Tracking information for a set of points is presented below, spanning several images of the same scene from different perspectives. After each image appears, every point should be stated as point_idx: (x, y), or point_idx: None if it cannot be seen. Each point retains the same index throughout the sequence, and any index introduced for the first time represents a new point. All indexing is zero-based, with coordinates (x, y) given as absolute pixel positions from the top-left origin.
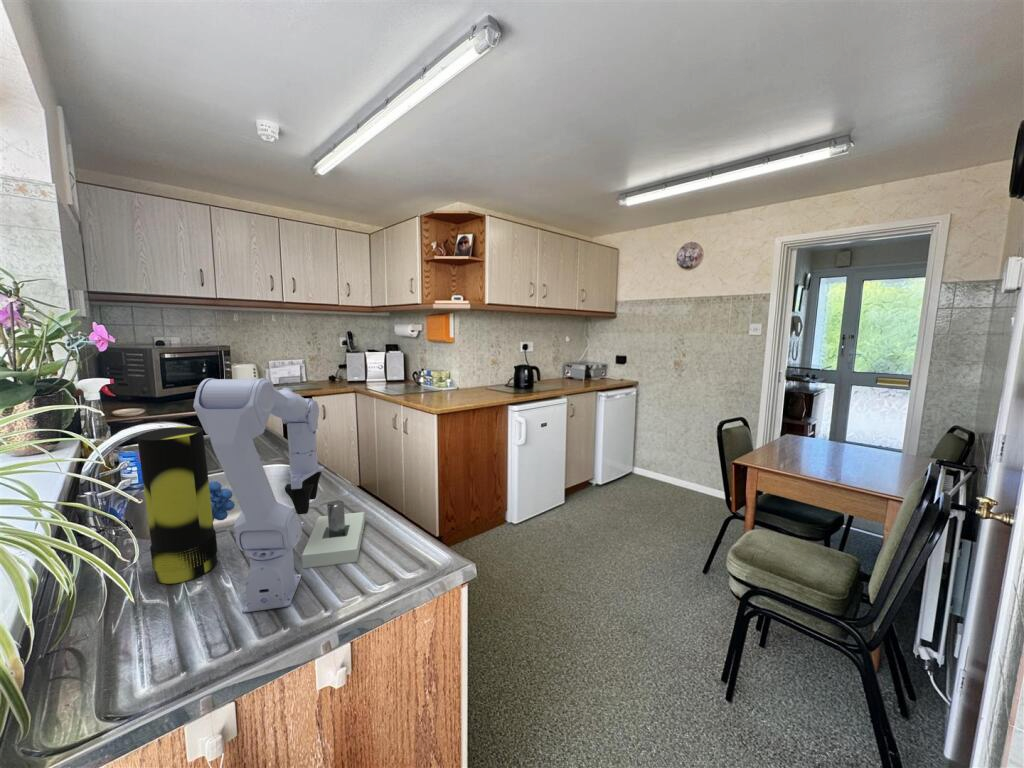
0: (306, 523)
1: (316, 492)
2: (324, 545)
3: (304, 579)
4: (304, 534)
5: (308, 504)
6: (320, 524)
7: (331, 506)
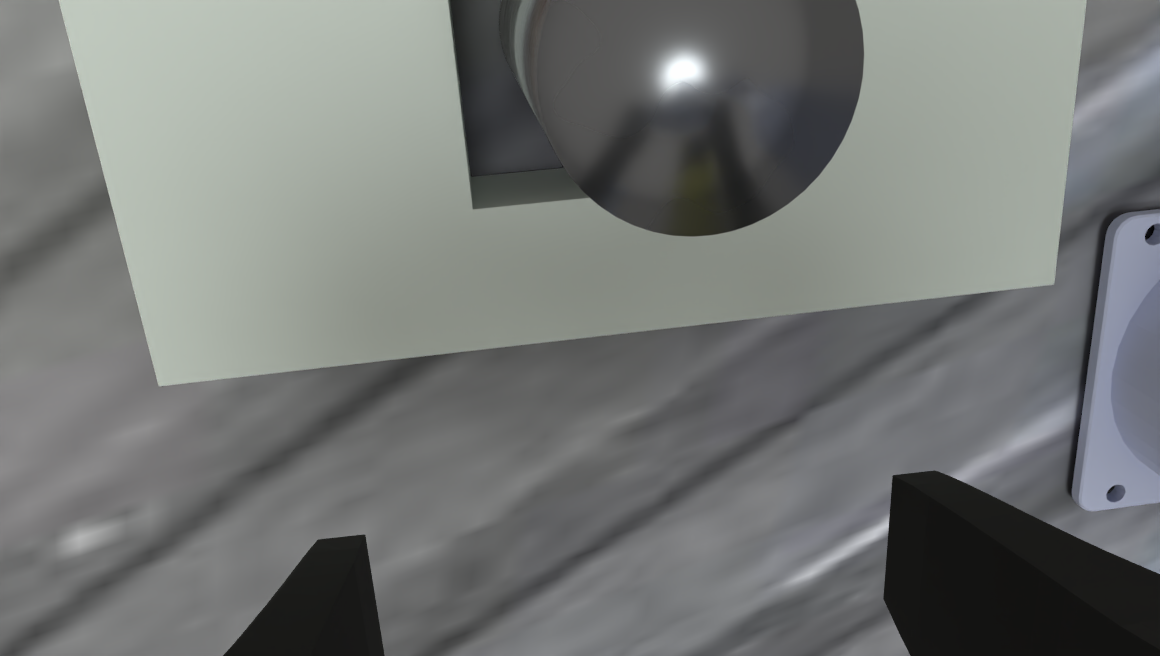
0: (105, 492)
1: (331, 587)
2: (918, 105)
3: (1149, 176)
4: (354, 431)
5: (1056, 531)
6: (389, 300)
7: (816, 129)
